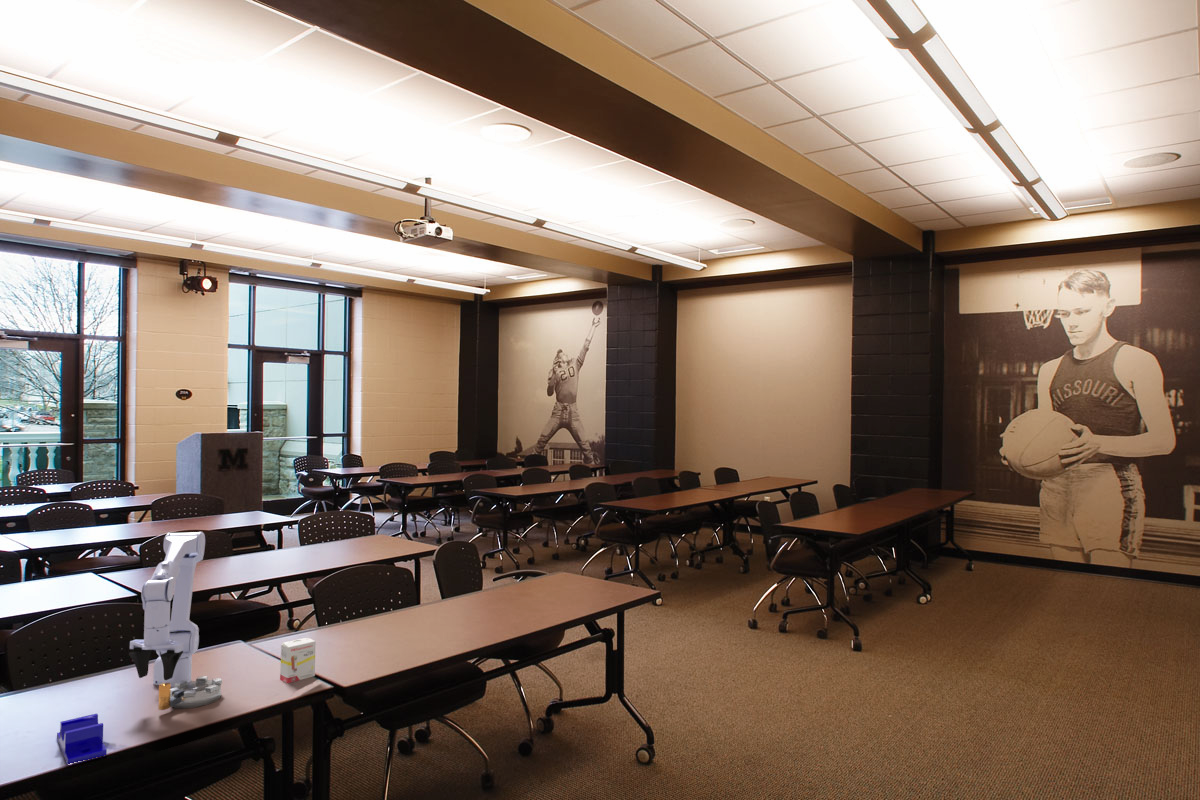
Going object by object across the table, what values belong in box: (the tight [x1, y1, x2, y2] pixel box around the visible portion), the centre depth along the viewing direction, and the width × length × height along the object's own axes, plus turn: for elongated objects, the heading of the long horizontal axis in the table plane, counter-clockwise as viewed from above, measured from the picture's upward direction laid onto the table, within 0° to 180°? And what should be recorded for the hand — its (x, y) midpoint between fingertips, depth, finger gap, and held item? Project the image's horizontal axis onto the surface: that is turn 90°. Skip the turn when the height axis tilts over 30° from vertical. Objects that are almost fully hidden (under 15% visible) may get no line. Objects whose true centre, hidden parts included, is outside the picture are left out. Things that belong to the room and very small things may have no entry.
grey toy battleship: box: [157, 675, 223, 711], centre depth 192 cm, size 17×12×8 cm
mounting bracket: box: [56, 713, 108, 764], centre depth 169 cm, size 18×7×6 cm, turn 43°
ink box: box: [279, 637, 316, 684], centre depth 211 cm, size 9×5×12 cm, turn 137°
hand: (155, 677), depth 188 cm, fingers open, 7 cm apart
